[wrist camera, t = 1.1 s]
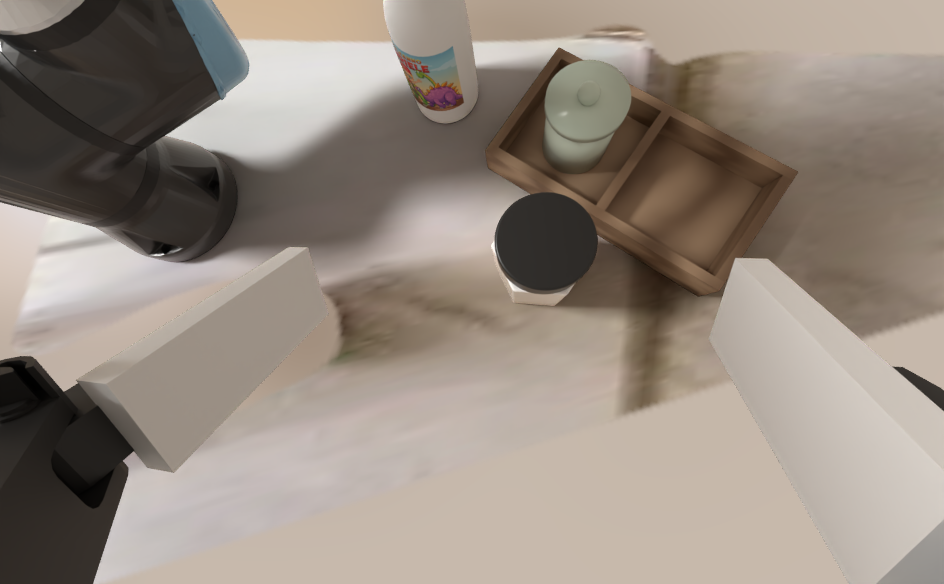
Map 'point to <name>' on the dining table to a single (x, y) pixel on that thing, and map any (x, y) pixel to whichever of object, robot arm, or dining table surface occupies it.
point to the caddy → (653, 184)
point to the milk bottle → (435, 55)
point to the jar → (543, 247)
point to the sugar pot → (583, 114)
